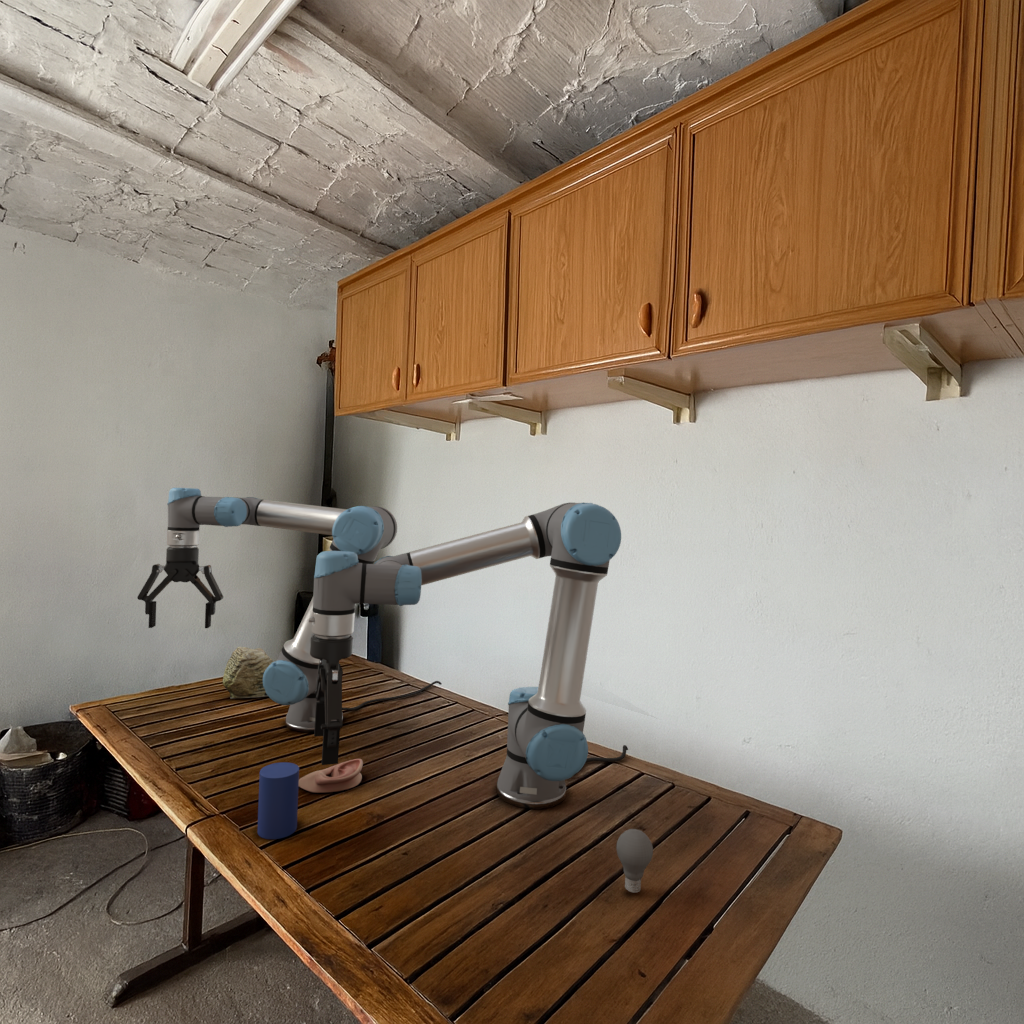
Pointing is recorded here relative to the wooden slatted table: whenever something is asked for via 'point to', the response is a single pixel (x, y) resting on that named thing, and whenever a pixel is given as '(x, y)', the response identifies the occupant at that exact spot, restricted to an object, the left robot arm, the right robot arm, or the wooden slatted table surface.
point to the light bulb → (634, 857)
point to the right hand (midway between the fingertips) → (325, 748)
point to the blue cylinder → (278, 800)
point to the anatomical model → (333, 777)
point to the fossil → (246, 673)
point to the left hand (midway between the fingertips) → (180, 627)
